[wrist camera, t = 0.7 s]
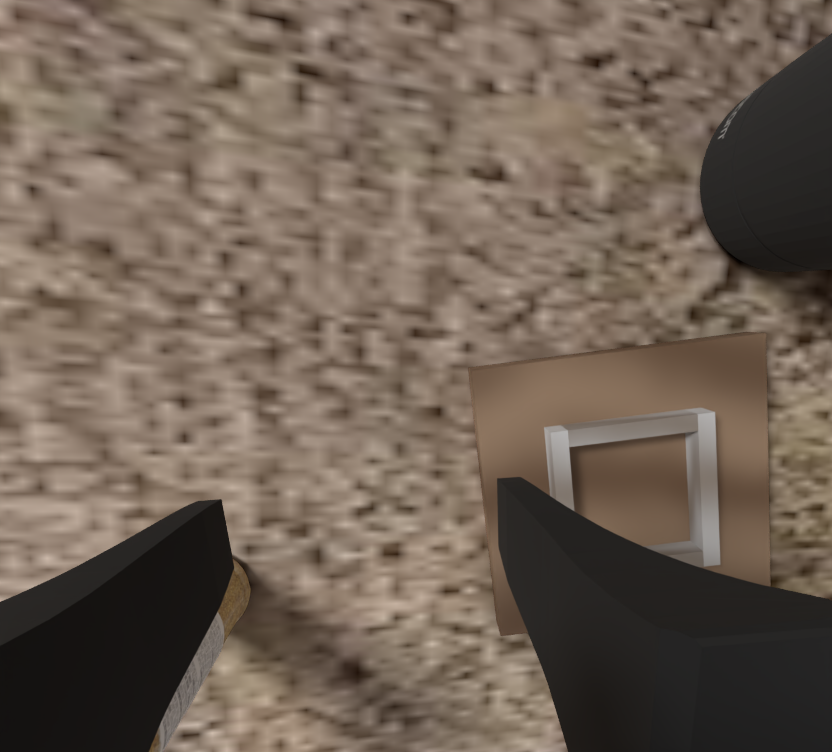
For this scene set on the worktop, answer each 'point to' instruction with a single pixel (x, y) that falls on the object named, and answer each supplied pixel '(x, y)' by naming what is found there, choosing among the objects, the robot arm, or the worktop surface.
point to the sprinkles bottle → (205, 655)
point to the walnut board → (636, 449)
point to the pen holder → (776, 170)
